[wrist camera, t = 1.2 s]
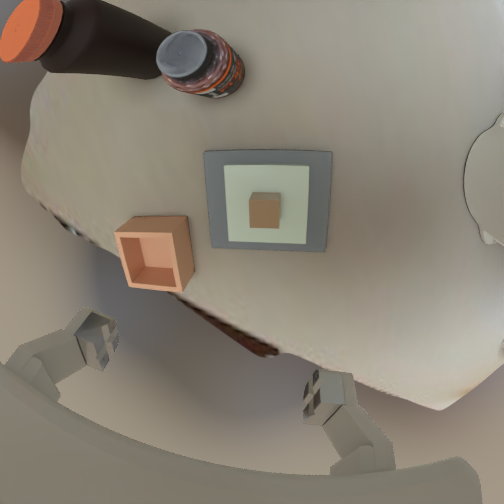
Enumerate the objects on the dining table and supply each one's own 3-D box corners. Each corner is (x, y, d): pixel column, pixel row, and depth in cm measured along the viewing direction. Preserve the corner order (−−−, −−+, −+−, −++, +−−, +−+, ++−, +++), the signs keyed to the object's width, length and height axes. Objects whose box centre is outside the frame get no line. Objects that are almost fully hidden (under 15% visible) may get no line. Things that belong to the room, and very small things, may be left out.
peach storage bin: (187, 216, 34) (171, 232, 29) (194, 270, 37) (182, 292, 33) (133, 216, 35) (114, 232, 30) (144, 267, 38) (129, 286, 34)
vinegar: (187, 60, 24) (58, 19, 7) (140, 90, 26) (-1, 97, 9) (166, 20, 22) (45, -34, 4) (121, 50, 24) (-11, 36, 6)
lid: (308, 164, 28) (311, 171, 25) (305, 240, 32) (306, 255, 29) (225, 163, 29) (217, 170, 26) (230, 237, 33) (223, 252, 30)
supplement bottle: (239, 102, 26) (210, 96, 16) (188, 95, 26) (136, 89, 17) (251, 53, 23) (228, 21, 13) (199, 47, 23) (152, 20, 14)
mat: (331, 151, 27) (332, 152, 27) (324, 249, 33) (325, 252, 33) (204, 151, 29) (203, 151, 29) (213, 245, 35) (211, 247, 34)
